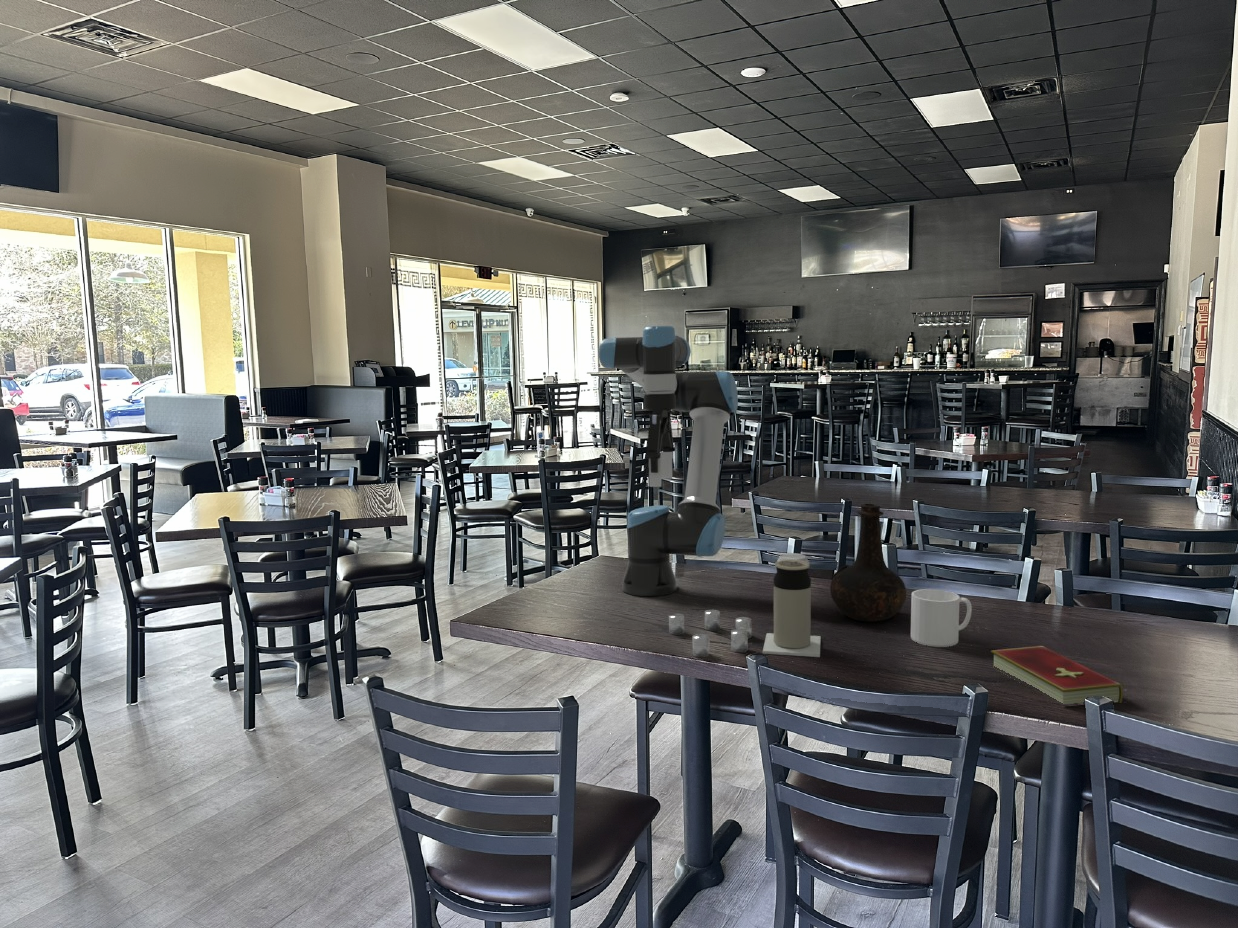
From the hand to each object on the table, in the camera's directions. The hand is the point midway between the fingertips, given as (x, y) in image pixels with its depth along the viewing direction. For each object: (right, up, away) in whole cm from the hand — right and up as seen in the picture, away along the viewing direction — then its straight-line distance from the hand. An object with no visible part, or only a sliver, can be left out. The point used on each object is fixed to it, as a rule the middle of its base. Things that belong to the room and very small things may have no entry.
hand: (661, 482), depth 195 cm
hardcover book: (+73, -38, -37) cm, 91 cm away
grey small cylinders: (+10, -36, -8) cm, 38 cm away
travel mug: (+28, -36, -13) cm, 47 cm away
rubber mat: (+28, -36, -13) cm, 48 cm away
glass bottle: (+51, -33, +7) cm, 61 cm away
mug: (+62, -35, -11) cm, 72 cm away
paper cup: (+34, -33, +13) cm, 49 cm away
